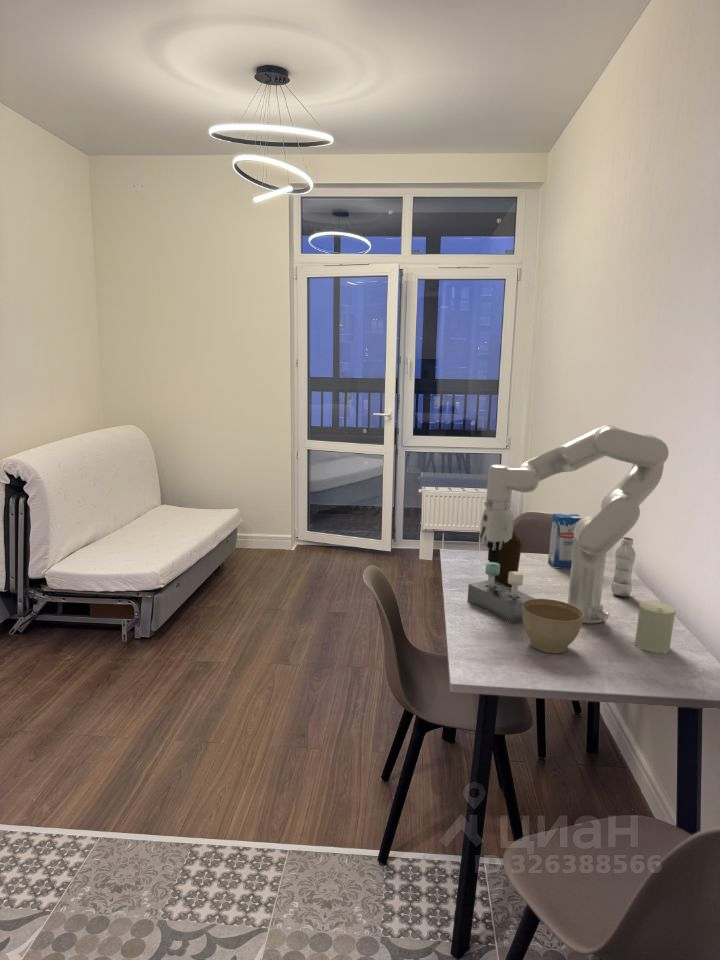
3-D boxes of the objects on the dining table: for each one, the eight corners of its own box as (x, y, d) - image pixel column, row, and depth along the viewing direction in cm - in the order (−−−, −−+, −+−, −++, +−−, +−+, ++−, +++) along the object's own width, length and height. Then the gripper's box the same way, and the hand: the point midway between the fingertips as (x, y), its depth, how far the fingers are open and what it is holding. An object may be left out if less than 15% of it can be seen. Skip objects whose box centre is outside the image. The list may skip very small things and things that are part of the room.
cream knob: (523, 603, 196) (526, 574, 194) (513, 605, 194) (516, 576, 192) (513, 598, 200) (516, 570, 198) (503, 600, 197) (505, 572, 196)
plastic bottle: (615, 598, 217) (622, 541, 213) (607, 591, 223) (613, 535, 220) (634, 599, 217) (641, 541, 213) (625, 592, 223) (632, 536, 220)
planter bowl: (573, 665, 165) (577, 625, 164) (511, 649, 173) (515, 611, 171) (584, 643, 179) (589, 606, 177) (527, 629, 187) (530, 594, 185)
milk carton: (572, 563, 254) (577, 514, 251) (578, 568, 248) (584, 518, 245) (547, 563, 254) (552, 513, 250) (553, 567, 247) (558, 517, 244)
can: (639, 651, 176) (645, 610, 173) (630, 638, 185) (635, 598, 182) (675, 655, 174) (681, 613, 172) (664, 641, 183) (669, 601, 181)
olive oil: (493, 593, 216) (499, 521, 211) (481, 583, 226) (487, 513, 222) (522, 592, 218) (529, 521, 213) (509, 582, 228) (515, 513, 224)
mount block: (535, 618, 196) (537, 599, 195) (512, 624, 191) (513, 604, 190) (490, 597, 212) (491, 579, 211) (467, 601, 207) (468, 583, 206)
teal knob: (500, 592, 204) (503, 565, 203) (490, 594, 202) (492, 567, 200) (491, 588, 208) (493, 561, 206) (480, 590, 206) (483, 563, 204)
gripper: (488, 508, 193) (483, 567, 196) (524, 505, 201) (518, 561, 204) (471, 503, 199) (467, 560, 202) (507, 500, 207) (501, 555, 210)
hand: (493, 561), depth 203 cm, fingers closed
